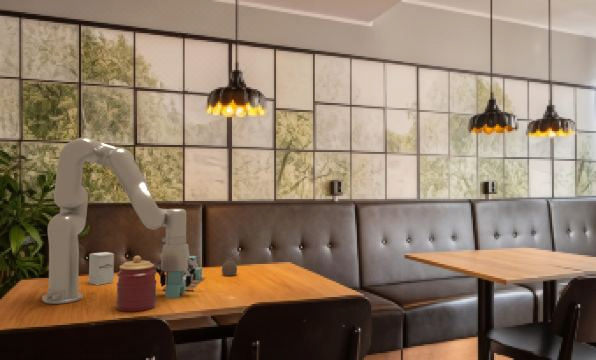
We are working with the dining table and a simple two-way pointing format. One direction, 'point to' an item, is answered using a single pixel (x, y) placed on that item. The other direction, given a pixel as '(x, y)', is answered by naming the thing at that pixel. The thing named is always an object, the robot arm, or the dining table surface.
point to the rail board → (193, 282)
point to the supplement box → (101, 268)
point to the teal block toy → (174, 284)
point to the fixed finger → (198, 270)
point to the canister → (136, 285)
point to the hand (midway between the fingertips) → (175, 285)
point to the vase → (229, 268)
